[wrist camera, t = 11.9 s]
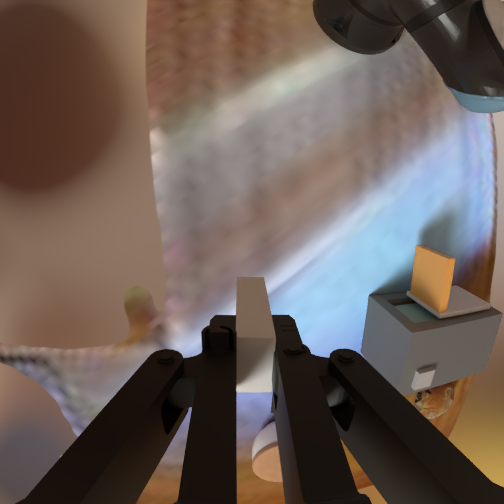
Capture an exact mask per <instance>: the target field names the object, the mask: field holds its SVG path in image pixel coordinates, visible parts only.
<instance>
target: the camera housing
mask: <svg viewBox="0 0 504 504" xmlns="http://www.w3.org/2000/svg"><path fill="white" fill-rule="evenodd" d="M406 293H407V292H399V293H388V294H377V295H369V299H368V306H367V314H366V321H365V328H364V334H363V340H362V347H361V353H362V354H363V356H364V357H365V358H366V360H367V361H368V362H369V363H370V364H371V365H372V366H373V367H374V368H375V369H376V370H377V371H378V372H379V373H380V374H381V375H382V376H383V377H384V378H385V379H386V380H387V381H388V382H389V383H390V384H391V385H392V386H393V387H394V388H395V389H397V390H398V391H399V392H400V393H401V394H402V395H403V396H405V395H409V394H413V393H416V392H420V391H423V390H427V389H430V388H434V387H437V386H440V385H443V384H447V383H450V382H453V381H456V380H459V379H462V378H465V377H467V376H470V375H473V374H476V373H478V372H481V371H484V370H485V368H486V365H487V363H488V360H489V357H490V354H491V351H492V348H493V345H494V342H495V339H496V335H497V332H498V329H499V325H500V321H501V318H502V314H503V313H501V312H500V311H498V310H496V309H495V308H493V307H490V309H486V310H481V311H476V312H472V313H467V314H462V315H457V316H452V317H446V318H441V319H439V318H438V317H437V316H435V315H434V314H433V313H431V312H430V311H428V310H427V309H426V308H424V307H423V306H421V305H420V304H419V303H417V302H416V301H414V300H413V299H412V298H410V297H409V296H407V295H406Z"/></svg>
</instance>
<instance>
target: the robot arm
mask: <svg viewBox="0 0 504 504" xmlns="http://www.w3.org/2000/svg"><path fill="white" fill-rule="evenodd" d="M313 11H314V15H315V18H316V20H317V22H318V24H319V25H320V27H321V28H322V30H323V31H324V32H325V33H326V34H327V35H328V36H329V37H330V38H331V39H332V40H333V41H335V42H336V43H338V44H339V45H341V46H342V47H344V48H346V49H348V50H351V51H353V52H357V53H361V54H369V55H372V54H379V53H382V52H384V51H386V50H388V49H389V48H391V47H392V46H393V45H395V44H396V43H397V41H398V40H399V38H400V36H401V34H402V32H403V30H404V27H405V28H406V30H407V31H408V32H409V33H410V35H411V36H412V37H413V38H414V40H415V41H416V42H417V43H418V45H419V46H420V47H421V49H422V50H423V51H424V53H425V54H426V55H427V57H428V58H429V59H430V61H431V62H432V64H433V65H434V66H435V68H436V69H437V71H438V72H439V74H440V75H441V77H442V78H443V82H444V84H445V86H446V87H447V88H448V89H449V90H451V92H452V93H453V95H454V96H455V98H456V99H457V101H458V102H459V104H460V105H462V106H463V107H464V108H466V109H467V110H469V111H472V112H477V113H494V112H500V111H504V1H501V0H314V1H313ZM201 333H202V353H201V354H199V355H197V356H194V357H189V358H183V356H182V354H181V353H179V352H178V351H175V350H170V349H163V350H159V351H156V352H154V353H153V354H151V355H150V356H149V357H148V358H147V360H146V361H145V362H144V363H143V364H142V365H141V366H140V367H139V369H138V370H137V371H136V372H135V373H134V374H133V375H132V377H131V378H130V379H129V380H128V381H127V382H126V383H125V384H124V386H123V387H122V388H121V389H120V390H119V391H118V392H117V394H116V395H115V396H114V397H113V398H112V399H111V400H110V401H109V403H108V404H107V405H106V406H105V407H104V408H103V409H102V411H101V412H100V413H99V414H98V415H97V416H96V417H95V419H94V420H93V421H92V422H91V423H90V424H89V425H88V427H87V428H86V429H85V430H84V431H83V432H82V433H81V435H80V436H79V437H78V438H77V439H76V440H75V442H74V443H73V444H72V445H71V446H70V447H69V448H68V449H67V451H66V452H65V453H64V454H63V455H62V456H61V458H60V459H59V460H58V461H57V462H56V463H55V464H54V466H53V467H52V468H51V469H50V470H49V471H48V473H47V474H46V475H45V476H44V477H43V478H42V479H41V481H40V482H39V483H38V484H37V485H36V486H35V488H34V489H33V490H32V491H31V492H30V493H29V495H28V496H27V497H26V498H25V499H23V500H21V501H19V502H17V503H16V504H135V503H136V502H137V500H138V498H139V496H140V495H141V493H142V491H143V490H144V488H145V486H146V485H147V483H148V481H149V479H150V478H151V476H152V474H153V472H154V471H155V469H156V467H157V466H158V464H159V462H160V460H161V459H162V457H163V455H164V453H165V452H166V450H167V448H168V446H169V445H170V443H171V441H172V439H173V438H174V436H175V434H176V432H177V431H178V429H179V427H180V425H181V423H182V422H183V420H184V418H185V416H186V415H187V413H188V410H189V407H192V412H191V418H190V424H189V430H188V436H187V443H186V449H185V456H184V462H183V469H182V475H181V482H180V489H179V496H178V500H177V502H175V503H174V504H237V470H236V392H272V386H273V397H272V408H271V413H274V418H275V425H276V433H277V441H278V449H279V457H280V464H281V472H282V480H283V488H284V496H285V503H286V504H372V503H371V501H370V499H369V497H367V495H366V494H360V493H359V492H358V491H357V488H356V485H355V482H354V479H353V476H352V473H351V470H350V467H349V464H348V461H347V458H346V455H345V452H344V449H343V446H342V443H341V440H342V441H343V443H344V444H345V445H346V447H347V448H348V450H349V451H350V452H351V454H352V455H353V457H354V458H355V459H356V461H357V462H358V464H359V465H360V466H361V468H362V469H363V471H364V472H365V473H366V475H367V476H368V478H369V479H370V480H371V482H372V483H373V484H374V486H375V487H376V489H377V490H378V491H379V493H380V494H381V495H382V497H383V498H384V499H385V501H386V502H387V503H388V504H504V487H502V486H499V485H497V484H495V483H493V482H492V481H490V480H489V479H488V478H487V477H486V476H485V475H484V474H483V473H482V472H481V471H480V470H479V469H478V468H477V467H476V466H475V465H474V464H473V463H472V462H471V461H470V460H469V459H468V458H467V457H466V456H465V455H464V454H463V453H462V452H461V451H460V450H458V449H457V448H456V447H455V446H454V445H453V444H452V443H451V442H450V441H449V440H448V439H447V438H446V437H445V436H444V435H443V434H442V433H441V432H440V431H439V430H438V429H437V428H436V427H435V426H434V425H433V424H432V423H431V422H430V421H429V420H428V419H427V418H425V417H424V416H423V415H422V414H421V413H420V412H419V411H418V410H417V409H416V408H415V407H414V406H413V405H412V404H411V403H410V402H409V401H408V400H407V399H406V398H405V397H404V396H403V395H402V394H401V393H400V392H399V391H398V390H397V389H395V388H394V387H393V386H392V385H391V384H390V383H389V382H388V381H387V380H386V379H385V378H384V377H383V376H382V375H381V374H380V373H379V372H378V371H377V370H376V369H375V368H374V367H373V366H372V365H371V364H370V363H369V362H368V361H367V360H365V359H364V358H363V357H362V356H361V355H360V354H359V353H357V352H356V351H353V350H350V349H337V350H335V351H333V352H332V353H331V354H330V357H329V358H326V357H320V356H315V355H313V354H311V352H310V350H309V348H308V347H307V346H306V345H304V344H302V341H301V338H300V335H299V332H298V329H297V326H296V323H295V320H294V319H293V318H292V317H291V316H289V315H271V310H270V305H269V300H268V295H267V290H266V285H265V281H264V277H237V300H236V315H215V316H214V317H213V318H212V319H211V320H210V325H209V326H207V327H205V328H203V330H202V332H201ZM340 438H341V440H340Z"/></svg>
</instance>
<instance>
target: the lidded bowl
mask: <svg viewBox="0 0 504 504" xmlns="http://www.w3.org/2000/svg"><path fill="white" fill-rule="evenodd" d="M252 466H253V471H254V473H255V474H256V475H257V476H258V477H260V478H262V479H264V480H267V481H273V482H283V480H282V472H281V464H280V457H279V449H278V441H277V433H276V425H275V421H273V422H271V423H269V424H268V425H266V426H265V427H264V428H263V429H262V430H261V431H260V432H259V433H258V435H257V436H256V438H255V440H254V443H253V448H252Z"/></svg>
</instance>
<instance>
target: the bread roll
mask: <svg viewBox="0 0 504 504" xmlns="http://www.w3.org/2000/svg"><path fill="white" fill-rule="evenodd" d="M453 399H454V388H453V385H452V384H451V383H447V384H443V385H440V386H437V387H434V388H430V389H427V390H423V391H420V392H418V394H417V395H416V399H415V408H416V409H417V410H418V411H419V412H420V413H421V414H422V415H423V416H424V417H425V418H428V419H433V418H436V417H438V416H440V415H441V414H443V413H444V412H445V411H446V410H447V409H448V408H449V407H450V405H451V403H452V402H453Z"/></svg>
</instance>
